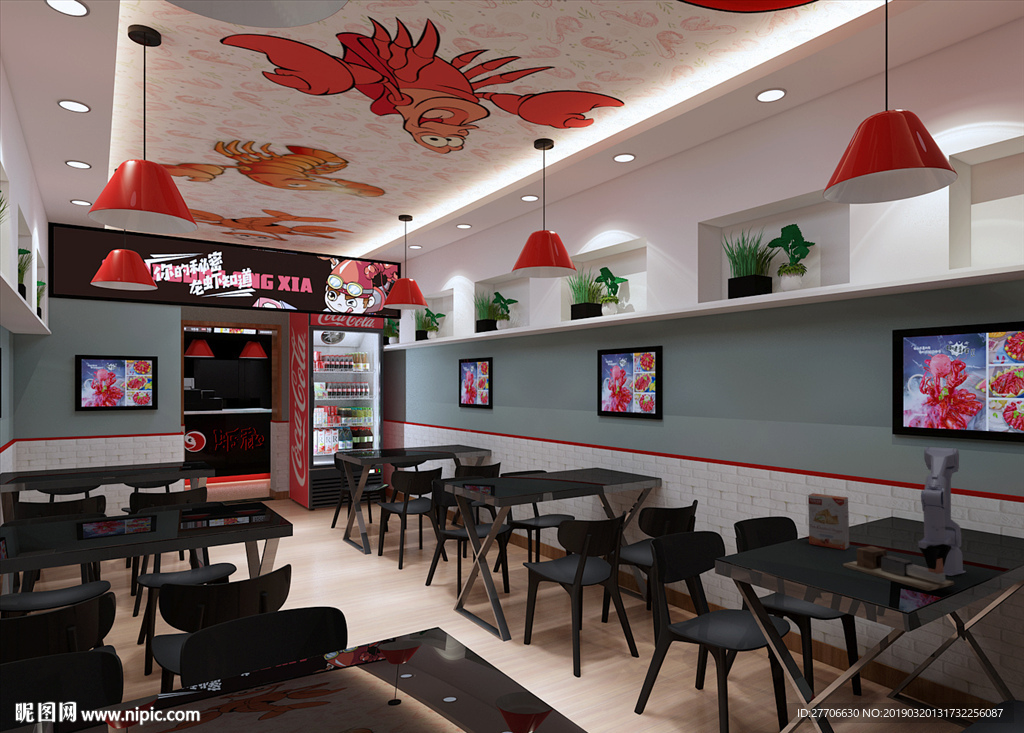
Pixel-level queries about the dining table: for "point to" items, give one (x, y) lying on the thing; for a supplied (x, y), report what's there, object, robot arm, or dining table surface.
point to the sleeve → (894, 565)
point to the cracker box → (828, 521)
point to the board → (901, 578)
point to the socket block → (870, 557)
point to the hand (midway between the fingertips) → (935, 567)
